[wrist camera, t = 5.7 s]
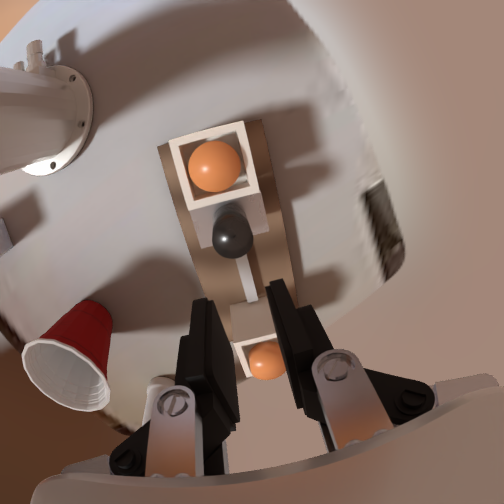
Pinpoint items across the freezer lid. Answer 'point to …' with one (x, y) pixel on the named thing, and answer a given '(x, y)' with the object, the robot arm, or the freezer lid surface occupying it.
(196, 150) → the ball
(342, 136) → the freezer lid surface
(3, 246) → the medicine box
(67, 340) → the plastic cup
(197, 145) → the pair of ball holders
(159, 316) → the freezer lid surface
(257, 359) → the gauge button
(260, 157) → the rail board
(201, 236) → the carriage
